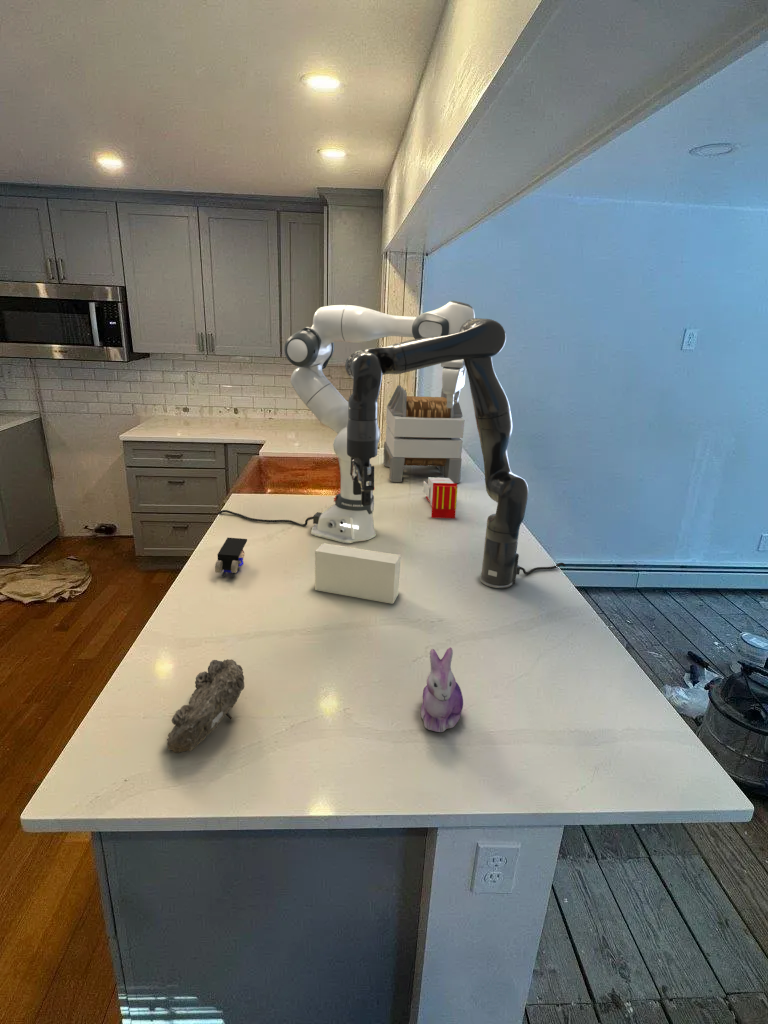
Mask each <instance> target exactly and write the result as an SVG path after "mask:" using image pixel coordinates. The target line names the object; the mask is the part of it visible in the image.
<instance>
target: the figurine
mask: <svg viewBox="0 0 768 1024" xmlns="http://www.w3.org/2000/svg"><path fill="white" fill-rule="evenodd" d="M453 655H454V649H453V647H448V648H446V650H445V652H444V653H443V656H442V658H440V657H439V655H438V652H437V651H436V649H434V648H430V651H429V661H430V672H429V673H428V675H427V678H426V685H425V686H424V688H423V690H422V702H421V708H420V717H421V720H422V721H423V725H424V727H425V729H427V730H428V731H433V732H435V733H444V732H445V731H446V730H447V729H453V728H454V727H455V726H456V725H457V723H459V721H460V718H461V715H462V711H463V707H464V697H463V693H462V690H461V687H460V684H459V683H458V682H457V680H456V677H455V676H454V673H453V671H452V660H453Z"/></svg>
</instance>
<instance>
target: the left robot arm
mask: <svg viewBox="0 0 768 1024" xmlns="http://www.w3.org/2000/svg"><path fill="white" fill-rule="evenodd" d="M472 318H476V314H475V309H474V307H473V306H472V305H471V304H468V303H466V302H462V301H459V300H458V301H457V300H449V301H448V302H447V303H446V304H444V305H442V306H440V307H438V308H436V309H432V310H429V311H426V312H423V313H421V314H419V315H418V316H412V315H411V316H410V315H394V314H389V313H385V312H382V311H378V310H374V309H372V308H368V307H364V306H360V305H352V304H332V305H325V306H320V307H318V308H317V309H316V311H314V314H313V318H312V325H311V326H305V327H303V328H301V329H299V330H298V331H295V333H293V334H291V335H290V336H289V337H288V338H287V340H286V341H285V343H284V347H283V348H284V350H283V351H284V355H285V358H286V359H287V360H288V362H289V363H291V365H293V366H295V367H296V368H295V369H294V370H293V371H292V373H291V375H290V384H291V386H292V388H293V389H294V391H295V392H296V394H297V396H298V397H299V399H300V400H301V402H303V404H304V405H305V406H306V407H307V408H308V410H309V411H310V412H311V413H312V414H313V415H314V417H316V419H317V420H318V421H319V423H321V424H322V425H323V426H325V427H327V428H329V429H330V430H332V431H334V432H335V433H336V436H335V438H334V439H333V443H332V446H333V448H332V449H333V451H334V454H335V455H336V457H337V462H338V466H339V473H340V488H339V489H340V490H339V491H338V492H337V494H336V495H335V496H334V497H333V502H334V504H333V505H331V506H329V507H328V508H326V509H325V510H323V512H319V511H318V512H316V513H315V514H313V515H312V516H309V517H307V518H306V519H305V521H304V523H303V524H302V523H299V522H297V521H294V520H291V519H261V518H253V517H249V516H246V515H244V514H241V513H238V512H234V511H231V510H228V509H222V510H219V511H218V512H217V515H221V514H223V513H227V514H231V515H234V516H237V517H240V518H242V519H245V520H248V521H253V522H261V523H290V524H293V525H296V526H300V527H306V526H308V521H310V520H312V524H314V525H313V526H312V528H311V530H310V533H311V536H315V537H319V538H323V539H326V540H330V541H336V542H339V543H343V544H352V543H357V542H365V541H368V540H372V539H373V538H375V537H376V535H377V532H376V528H375V523H374V513H373V512H374V509H375V496H374V490H372V491H371V503H370V505H366V506H363V505H362V504H361V495H354V494H353V481H354V480H352V476H351V475H350V468H351V457H350V456H348V455H347V424H348V400H346V399H345V397H344V396H343V395H342V394H341V392H339V390H338V389H337V388H336V387H335V386H334V385H333V383H332V382H331V381H330V380H329V378H327V376H326V375H325V374H324V371H323V370H324V369H326V368H327V365H328V363H329V361H330V360H331V358H332V356H333V354H334V352H335V343H337V342H338V343H351V344H353V343H354V344H355V343H365V342H369V341H370V342H371V341H375V340H379V339H383V338H388V337H389V338H391V337H399V338H400V337H401V338H414V339H420V338H428V337H437V336H445V335H450V334H455V333H458V332H459V331H460V328H461V326H462V325H463V324H464V322H466V321H467V320H469V319H472ZM414 339H413V340H414ZM440 367H441V368H442V373H441V381H442V382H441V391H442V390H443V393H444V394H447V396H446V397H447V408H452V407H453V404H457V403H458V402H459V397H460V394H461V389H463V388H464V387H465V382H466V372H467V370H466V367H465V363H464V360H463V359H461V360H455V361H449V362H445V363H441V364H440ZM381 436H382V435H381V429H380V427H379V426H378V443H379V442H380V440H381ZM369 461H370V462H371V459H370V460H369ZM368 476H369V475H368ZM366 486H368V483H367V482H366Z"/></svg>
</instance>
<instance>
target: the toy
mask: <svg viewBox="0 0 768 1024" xmlns="http://www.w3.org/2000/svg"><path fill="white" fill-rule="evenodd" d="M422 493H424V494H425V498H426V500H427V501H428V502H429V504H430V506H431V517H430V518H432V519H456V514H457V513H456V512H457V498H458V483H453V482H452V481H451V480H450V479H449V478H444V477H431V476H430V477H429V476H428V477H427V482H426V481H425V480H423V484H422Z"/></svg>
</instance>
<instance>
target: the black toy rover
mask: <svg viewBox="0 0 768 1024" xmlns="http://www.w3.org/2000/svg"><path fill="white" fill-rule="evenodd" d="M247 542H248V538H240V537H226V539H225V541H224V543H223V544H222V546H221V547H220V549H219V551H218V552H217V560H216V562H215V564H214V572H215V573H221V577H222V578H224V577H225V576H226V574H227V573H230V574H231V573H232V574H231V578H234V577H235V575H236V573H237V572H239V571H240V567H242V566H243V565H244V564H245V562H244V558H245V551H244V547H245V546H246V544H247Z"/></svg>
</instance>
